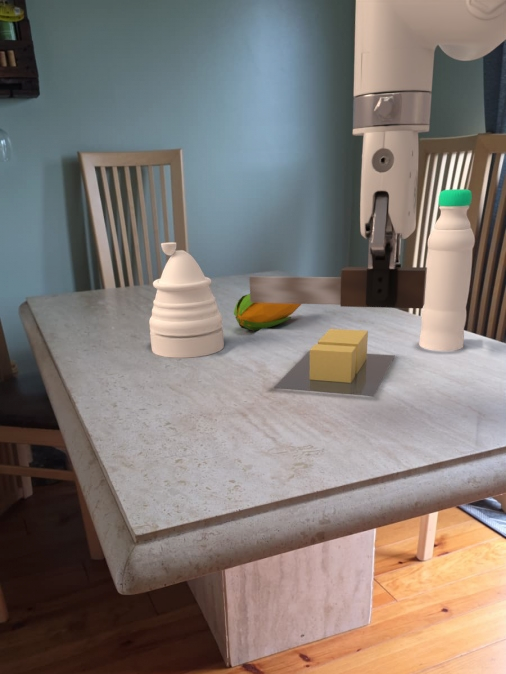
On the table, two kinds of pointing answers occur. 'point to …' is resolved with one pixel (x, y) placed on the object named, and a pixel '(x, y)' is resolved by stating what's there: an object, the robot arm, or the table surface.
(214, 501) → the table surface
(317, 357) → the block
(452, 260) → the water bottle
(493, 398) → the table surface
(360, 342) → the butter block
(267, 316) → the corn
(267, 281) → the knife
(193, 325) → the honey pot
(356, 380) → the butter dish
